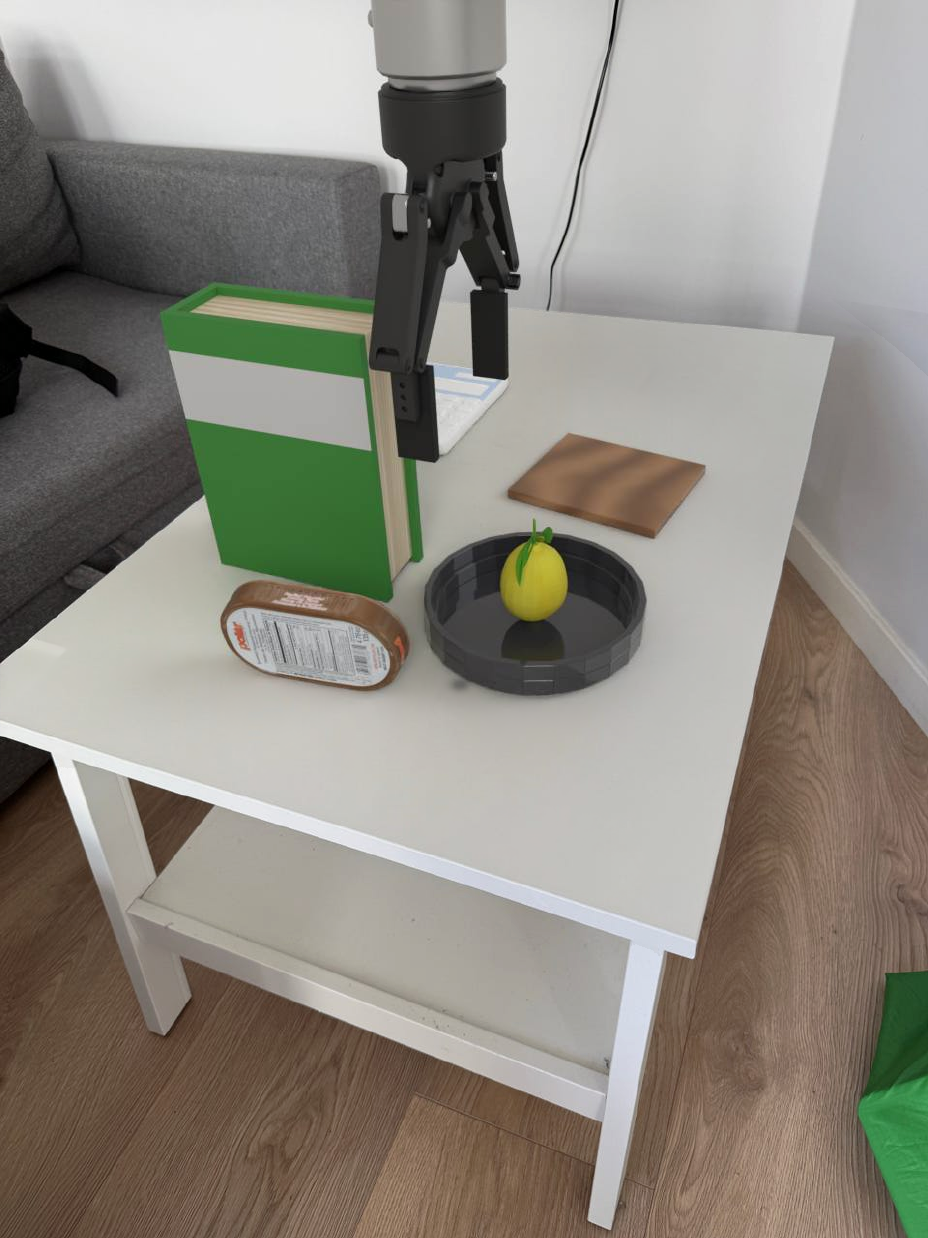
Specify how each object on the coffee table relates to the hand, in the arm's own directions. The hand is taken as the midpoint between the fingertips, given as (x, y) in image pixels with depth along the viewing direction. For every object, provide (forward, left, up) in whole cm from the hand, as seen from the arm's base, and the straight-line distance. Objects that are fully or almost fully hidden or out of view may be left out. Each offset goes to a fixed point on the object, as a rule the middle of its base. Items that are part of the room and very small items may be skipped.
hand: (457, 414), depth 66 cm
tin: (+7, +12, -20) cm, 24 cm away
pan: (-5, -2, -19) cm, 20 cm away
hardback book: (+17, -1, -20) cm, 26 cm away
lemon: (-5, -2, -19) cm, 20 cm away
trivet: (-1, -26, -19) cm, 33 cm away
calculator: (+25, -32, -20) cm, 45 cm away
